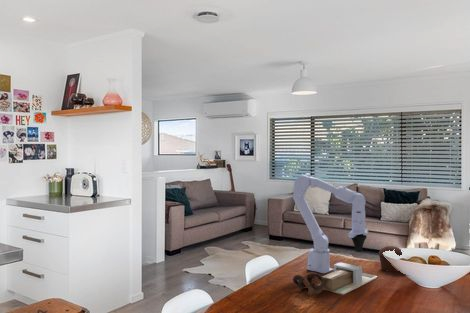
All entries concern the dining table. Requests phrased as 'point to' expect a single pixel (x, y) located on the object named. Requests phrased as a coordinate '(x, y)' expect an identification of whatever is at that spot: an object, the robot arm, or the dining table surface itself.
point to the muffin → (384, 262)
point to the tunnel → (358, 278)
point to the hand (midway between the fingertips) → (358, 251)
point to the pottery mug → (309, 282)
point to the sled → (337, 279)
